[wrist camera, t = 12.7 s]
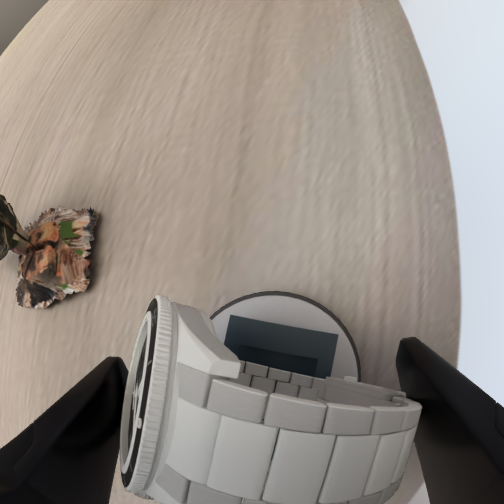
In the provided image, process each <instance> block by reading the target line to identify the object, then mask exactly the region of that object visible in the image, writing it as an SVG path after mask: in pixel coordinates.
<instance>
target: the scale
mask: <svg viewBox="0 0 504 504" xmlns="http://www.w3.org/2000/svg"><path fill="white" fill-rule="evenodd" d="M230 314H231V315H236V316H240V317H245V318H250V319H255V320H260V321H265V322H271V323H276V324H281V325H287V326H292V327H298V328H304V329H309V330H315V331H321V332H327V333H334V334H339V336H338V341H337V346H336V352H335V357H334V362H333V367H332V372H331V377H337V378H342V379H344V377H345V376H351V377H355V378H357V382H361V368H360V360H359V356H358V352H357V349H356V346H355V344H354V341H353V339H352V337H351V335H350V334H349V332H348V330H347V329H346V327H345V326H344V325H343V324H342V322H341V321H340V320H339V319H338V318H337V317H336V316H335V315H334V314H333V313H332V312H331V311H329V310H328V309H327V308H325V307H324V306H322V305H321V304H319V303H317V302H315V301H314V300H312V299H309V298H307V297H304V296H301V295H298V294H293V293H289V292H280V291H266V292H259V293H254V294H250V295H246V296H243V297H241V298H238V299H236V300H233V301H232V302H230V303H228V304H226V305H225V306H223V307H222V308H220V309H219V310H218V311H216V312H215V313H214V314H213V315H212V316H211V317H210V319H211V320H212V322H213V325H214V330H215V333H216V335H217V339H218V340H219V341H220V342H221V343H222V344H224V341H225V336H226V331H227V327H228V322H229V318H230Z"/></svg>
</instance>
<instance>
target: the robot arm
mask: <svg viewBox="0 0 504 504" xmlns="http://www.w3.org/2000/svg"><path fill="white" fill-rule="evenodd" d="M396 367H397V372H398V377H399V381H400V386H401V391H402V392H405V393H406V398H407V399H410V400H412V401H416V402H418V403H420V405H421V406H422V409H421V414H420V418H419V422H418V425H417V429H416V433H415V437H414V442H415V445H416V449H417V452H418V456H419V460H420V464H421V467H422V471H423V475H424V479H425V483H426V488H427V492H428V496H429V500H430V504H504V407H502V406H501V405H500V404H499V403H496V401H495V400H494V399H493V398H491V397H490V396H489V395H488V394H486V393H485V392H484V391H483V390H482V389H480V388H479V387H478V386H477V385H475V384H474V383H473V382H472V381H470V380H469V379H468V378H467V377H465V376H464V375H463V374H462V373H460V372H459V371H458V370H457V369H455V368H454V367H453V366H452V365H450V364H449V363H448V362H447V361H445V360H444V359H443V358H442V357H440V356H439V355H438V354H437V353H435V352H434V351H433V350H431V349H430V348H429V347H428V346H426V345H425V344H424V343H422V342H421V341H420V340H419V339H417V338H416V337H408V338H403V339H402V340H401V341H400V344H399V348H398V352H397V356H396ZM128 373H129V371H128V370H127V368H126V366H125V364H124V362H123V360H122V359H121V358H120V357H107V358H106V359H105V360H104V361H102V362H101V363H100V364H99V365H98V366H97V367H95V368H94V369H93V370H92V371H91V372H90V373H89V374H87V375H86V376H85V377H84V378H83V379H82V380H80V381H79V382H78V383H77V384H76V385H75V386H74V387H72V388H71V389H70V390H69V391H68V392H67V393H66V394H64V395H63V396H62V397H61V398H60V399H59V400H58V401H56V402H55V403H54V404H53V405H52V406H51V407H50V408H49V409H47V410H46V411H45V412H44V413H43V414H42V415H41V416H39V417H38V418H37V419H36V420H35V421H34V422H33V423H31V424H30V425H29V426H28V427H27V428H26V429H25V430H23V431H22V432H21V433H20V434H19V435H18V436H16V437H15V438H14V439H13V440H11V441H10V442H9V443H7V444H6V445H5V446H4V447H2V448H1V449H0V504H109V499H110V494H111V488H112V483H113V478H114V473H115V468H116V463H117V459H118V454H119V449H120V431H121V419H122V410H123V403H124V396H125V389H126V384H127V378H128Z"/></svg>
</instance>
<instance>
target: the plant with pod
mask: <svg viewBox="0 0 504 504" xmlns="http://www.w3.org/2000/svg"><path fill="white" fill-rule="evenodd" d="M98 218H99V217H98V215H97V214H96V212H94V209H93V210H91V207H90V209H89V210H88V209H86V210H85V208H84V210H83V209H82V210H81V211H75V210H74V209H73V210H70V209H64V208H62V211H61V210H60V206H59V207H58V209H57V210H56V212H55V209H54V208H50V209H49V211H48V213H47V211H46V212H45V214H44V213H42V214H41V216H39V219H38V221H34V223H33V224H31V223H30V226H27V228H26V227H25V229H26V230H23V228H22V227H21V225H20V223H19V221H18V219H17V218H16V216H15V214H14V212H13V208H12V206H11V205H10V203H7V201H6V198H5V197H4V196H3V195H1V194H0V260H2V259H3V258H4V257H5V256H6V255H7V253H8V251H9V250H11V251H12V252H14V253H17V254H20V255H19V269H18V277H17V278H19V279H18V280H17V281H18V282H19V283H18V287H17V289H16V291H17V293H16V296H17V302H19V304H18V305H19V306H20V305H21V306H22V307H23V305H24V306H25V307H26V305H27V306H28V307H30V305H31V307H32V306H33V308H35V309H37V308H38V307H39V308H41V309H42V310H43V309H44V307H45V308H47V306H49V304H50V303H53V301H54V298H56V299H58V300H60V301H62V300H63V299H64V297H65V295H66V294H67V293H69V294H72V293H73V291H75V292H76V293H77V292H79V291H83V292H85V290H86V288H87V286H88V284H89V282H90V280H91V279H85V278H86V277H87V276H88V275H90V274H91V272H90V271H89V269H88V265H89V264H90V262H91V260H92V259H83V258H84V257H86V256H87V255H89V254H90V253H91V252H87V251H84V250H87V249H90V248H91V246H90V243H89V241H92V240H94V238H93V236H92V234H93V233H94V232H93V231H92V229H93V228H95V227H92V226H94V225H97V224H96V221H97V219H98ZM46 305H47V306H46Z"/></svg>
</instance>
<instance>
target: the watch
mask: <svg viewBox="0 0 504 504" xmlns="http://www.w3.org/2000/svg"><path fill="white" fill-rule="evenodd" d="M338 336H339V334H334V333H327V332H321V331H315V330H309V329H304V328H298V327H292V326H287V325H281V324H276V323H271V322H265V321H260V320H255V319H250V318H245V317H240V316H236V315H231V314H230V318H229V322H228V327H227V331H226V336H225V341H224V344H222V343H221V342H220V341H219V340H218V339H217V335H216V333H215V330H214V325H213V322H212V320H211V319H210V318H209V317H208V316H207V315H206V314H205V313H204V312H202V311H201V310H200V309H196V308H193V307H190V306H186V305H182V304H178V303H175V302H171V303H170V300H169V298H168V297H165V296H161V295H156V296H155V297H154V299H153V300H152V301H151V303H150V305H149V307H148V310H147V312H146V315H145V317H144V319H143V322H142V325H141V328H140V330H139V334H138V337H137V340H136V344H135V347H134V351H133V355H132V359H131V364H130V368H129V373H128V378H127V384H126V389H125V396H124V403H123V410H122V419H121V431H120V465H121V476H122V482H123V485H124V488H125V490H126V491H127V492H133V493H135V495H137V496H138V497H141V498H143V499H148V500H149V499H151V500H153V499H155V500H157V501H159V502H160V503H162V504H241V502H242V498H244V501H243V504H383V503H384V502H386V501H387V500H388V499H390V498H391V497H392V496H393V495H394V493H395V491H397V489H398V487H399V485H400V482H401V479H402V476H403V473H404V470H405V467H406V464H407V461H408V457H409V454H410V451H411V447H412V444H413V440H414V437H415V433H416V429H417V425H418V422H419V418H420V414H421V409H422V406H421V405H420V403H418V402H416V401H412V400H410V399H407V398H406V393H405V392H402V391H398V390H393V389H389V388H384V387H379V386H375V385H370V384H365V383H361V382H357V378H355V377H351V376H345V377H344V379H342V378H337V377H331V372H332V367H333V362H334V357H335V352H336V346H337V341H338ZM271 460H272V462H271V466H270V469H269V465H270V461H271ZM268 469H269V473H268ZM267 473H268V477H267V480H266V476H267ZM265 480H266V484H265ZM264 484H265V488H264V491H263V487H264ZM262 491H263V494H262Z"/></svg>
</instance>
